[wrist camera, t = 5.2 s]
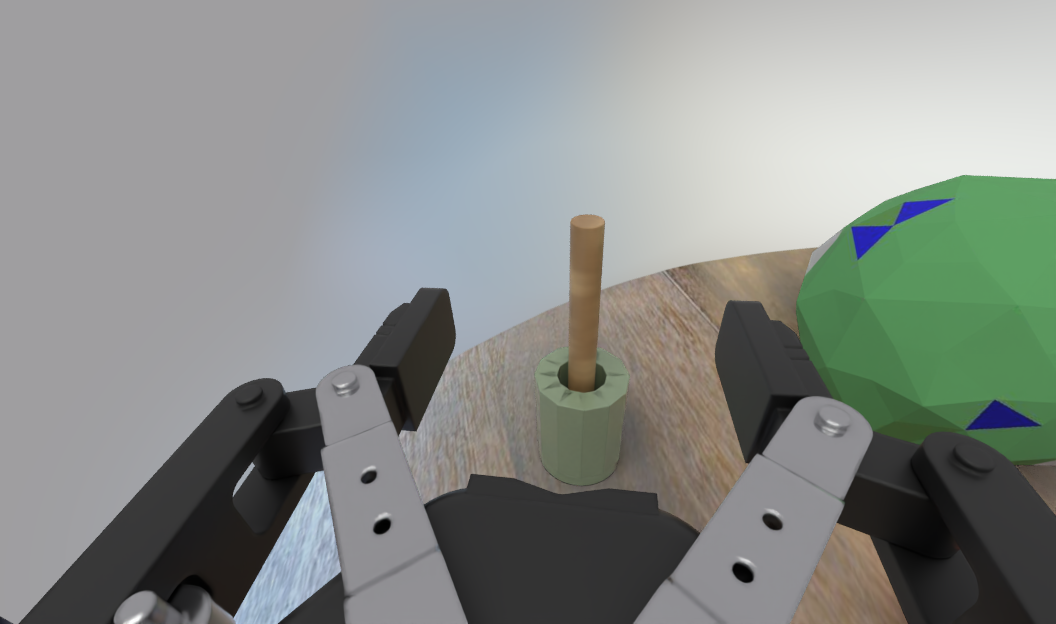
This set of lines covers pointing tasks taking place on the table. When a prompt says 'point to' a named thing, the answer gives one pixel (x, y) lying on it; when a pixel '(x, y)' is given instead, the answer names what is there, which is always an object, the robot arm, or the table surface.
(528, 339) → the table surface
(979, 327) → the decorative sphere
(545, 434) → the crock
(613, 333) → the table surface
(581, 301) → the stick
